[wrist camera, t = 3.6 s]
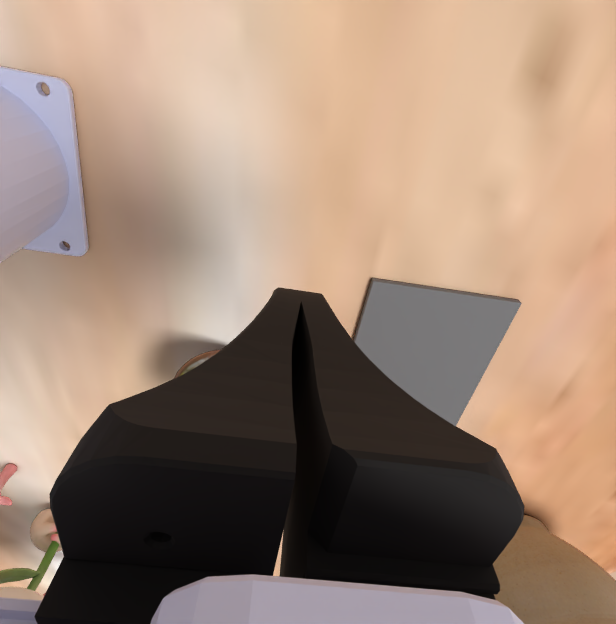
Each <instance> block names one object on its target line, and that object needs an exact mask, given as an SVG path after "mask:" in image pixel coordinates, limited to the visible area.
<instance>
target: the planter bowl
mask: <svg viewBox="0 0 616 624" xmlns="http://www.w3.org/2000/svg"><path fill="white" fill-rule="evenodd" d="M493 566H494V569H495V572H496V575H497V577H498V580H499V583H500V592H499V593H498V594H497V595H496V594H494V596H495V599H496V600H497V601H499V602H500V603H502V604H503V605H505V606H507V607H508V608H510V610H511V611H512V612H513V613H514V614H515V615H516V616H517V617H518V618H519V619H520V620H521V621H522V622H523V623H524V624H616V580H615V579H613V578H612V577H611V576H610V575H609V574H608V573H607V572H606V571H605V570H604V569H603V568H602V567H600V566H599V565H598V564H597V563H596V562H594V561H593V560H592V559H590V558H589V557H588V556H586V555H585V554H584V553H582V552H581V551H580V550H578V549H577V548H575V547H574V546H572V545H571V544H569V543H567V542H566V541H564V540H562V539H560V538H559V537H557V536H555V535H553V534H551V533H550V532H549V531H548V529H547V528H546V527H545V525H544V524H543V523H542V522H540V521H539V520H537V519H536V518H533V517H531V516H527V515H524V517H523V521H522V523H521V525H520V526H519V528H518V530H517V532H516V534H515V536H514V537H513V538H512V540H511V541H510V542H509V543H508V545H507V546H506V547H505V549H504V550H503V551H502V552H501V554H500V555H499V556H498V558H497V559H496V560H495V562H494V563H493Z"/></svg>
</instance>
